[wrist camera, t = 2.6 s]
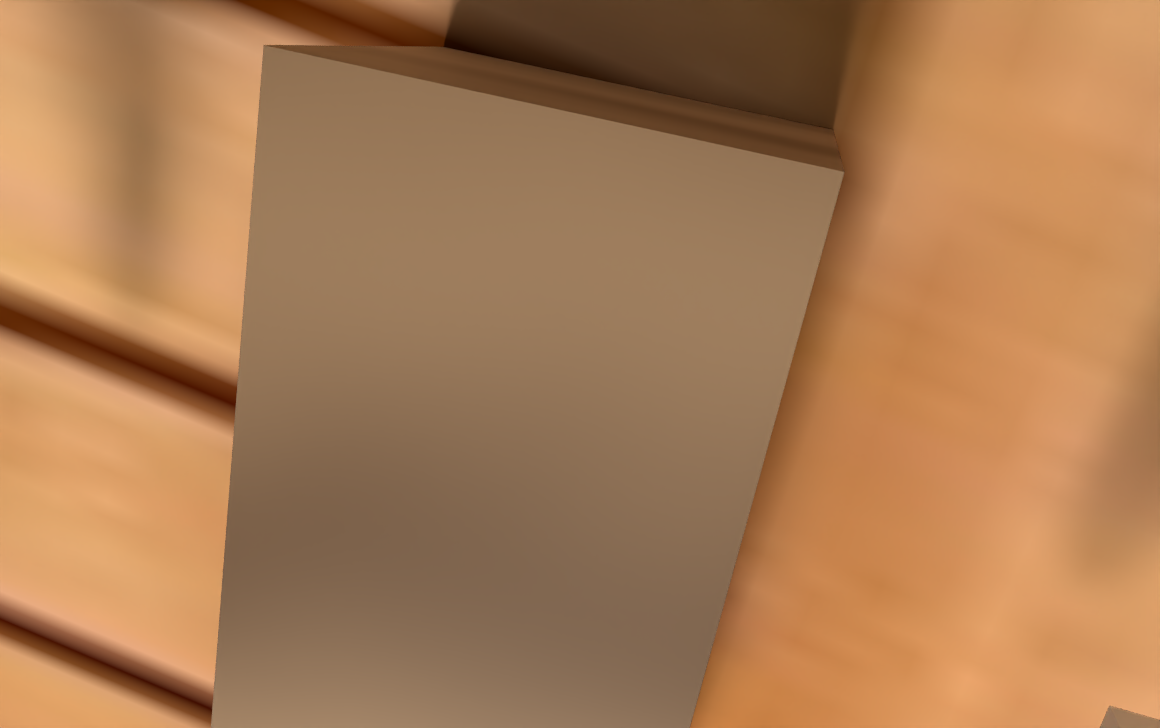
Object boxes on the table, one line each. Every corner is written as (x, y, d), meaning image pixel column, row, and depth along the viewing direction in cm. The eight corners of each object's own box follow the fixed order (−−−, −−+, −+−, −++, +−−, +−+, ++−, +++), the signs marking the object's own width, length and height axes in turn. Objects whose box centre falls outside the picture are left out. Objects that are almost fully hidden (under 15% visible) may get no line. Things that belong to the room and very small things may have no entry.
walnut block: (443, 46, 13) (264, 46, 9) (832, 129, 12) (843, 171, 8) (350, 734, 16) (192, 968, 12) (643, 829, 16) (582, 1113, 11)
